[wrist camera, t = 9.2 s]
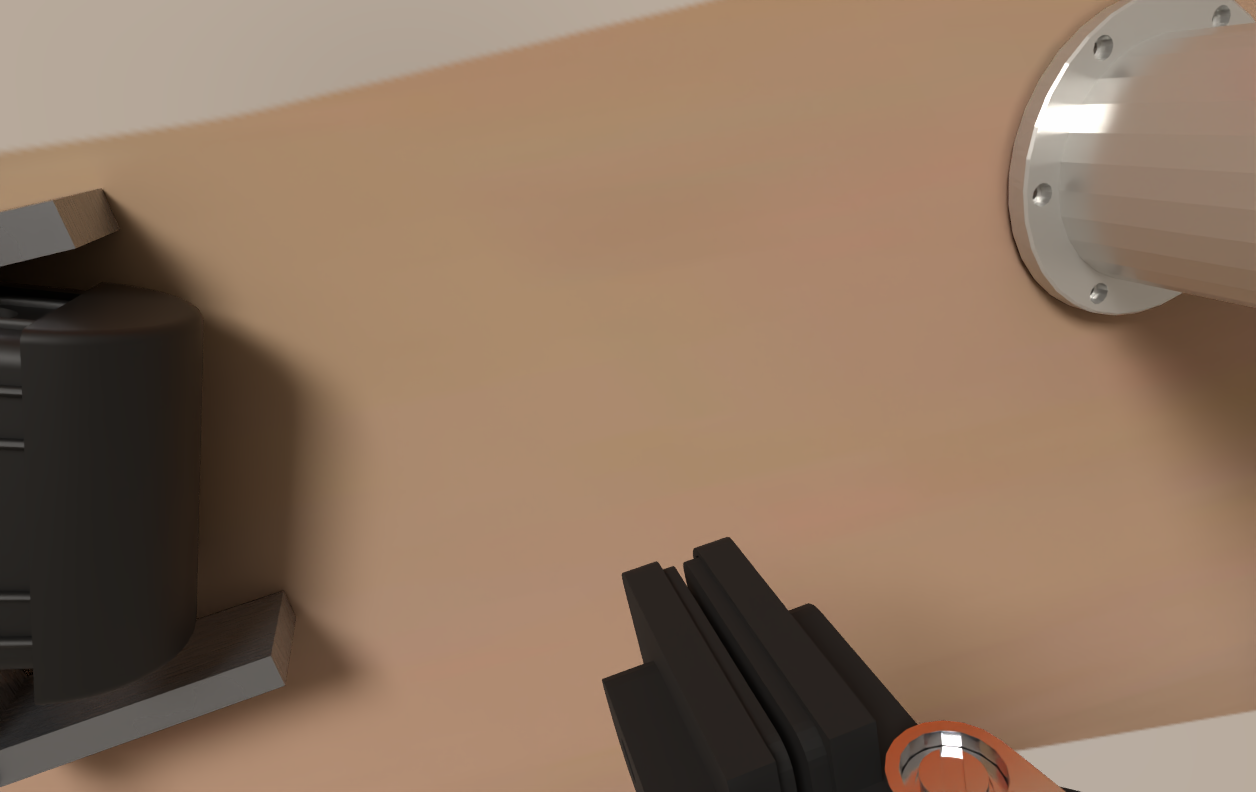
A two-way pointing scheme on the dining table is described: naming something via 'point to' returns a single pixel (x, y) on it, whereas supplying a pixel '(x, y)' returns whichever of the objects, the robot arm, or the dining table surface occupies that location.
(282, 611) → the steel cradle
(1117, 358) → the dining table surface
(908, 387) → the dining table surface
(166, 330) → the end cap
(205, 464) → the dining table surface
